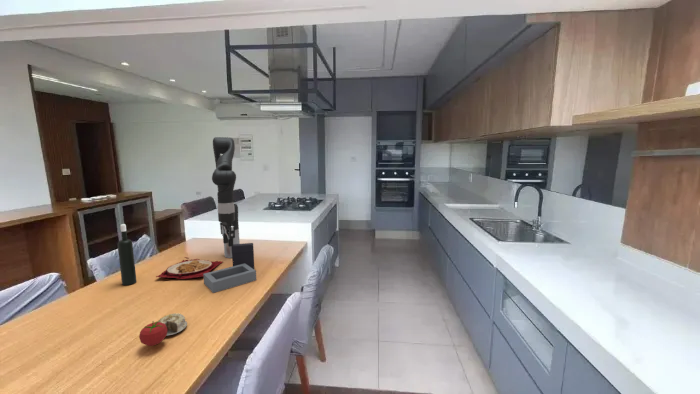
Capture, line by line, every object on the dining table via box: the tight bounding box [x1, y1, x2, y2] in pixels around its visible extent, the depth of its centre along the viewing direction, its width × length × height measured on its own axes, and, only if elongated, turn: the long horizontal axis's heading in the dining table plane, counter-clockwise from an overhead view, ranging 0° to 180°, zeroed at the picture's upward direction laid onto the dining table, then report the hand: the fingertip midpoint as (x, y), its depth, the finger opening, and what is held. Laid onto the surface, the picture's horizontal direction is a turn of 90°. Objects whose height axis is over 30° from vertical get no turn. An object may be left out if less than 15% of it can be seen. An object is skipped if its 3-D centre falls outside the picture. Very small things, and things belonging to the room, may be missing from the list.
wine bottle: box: [117, 223, 137, 286], centre depth 143 cm, size 6×6×30 cm
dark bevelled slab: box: [231, 242, 255, 270], centre depth 159 cm, size 11×4×15 cm, turn 105°
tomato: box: [138, 320, 168, 347], centre depth 97 cm, size 8×8×8 cm
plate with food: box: [155, 256, 224, 280], centre depth 160 cm, size 24×26×3 cm
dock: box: [203, 263, 257, 294], centre depth 145 cm, size 14×21×5 cm, turn 132°
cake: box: [158, 313, 188, 336], centre depth 106 cm, size 10×10×5 cm
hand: (228, 244), depth 143 cm, fingers open, 6 cm apart
